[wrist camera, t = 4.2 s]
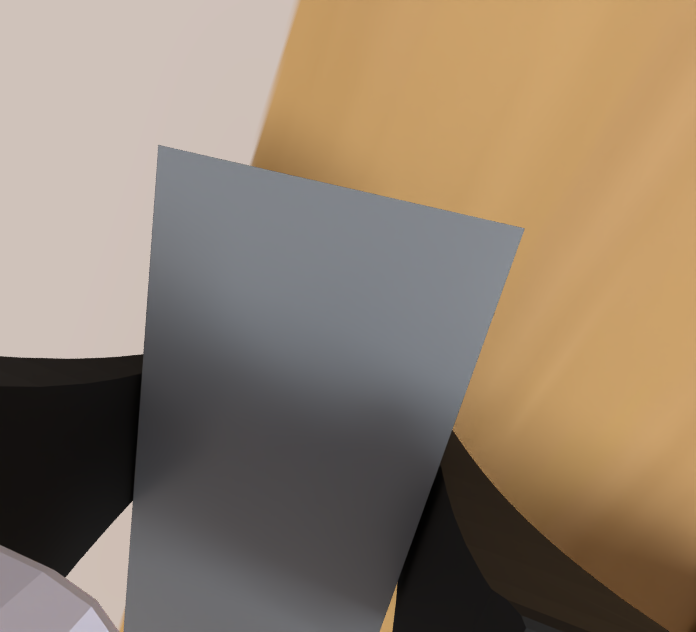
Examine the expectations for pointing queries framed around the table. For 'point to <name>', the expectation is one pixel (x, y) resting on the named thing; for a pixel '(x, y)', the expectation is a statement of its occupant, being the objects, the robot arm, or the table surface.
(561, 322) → the table surface
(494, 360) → the table surface
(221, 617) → the tall grey brick
